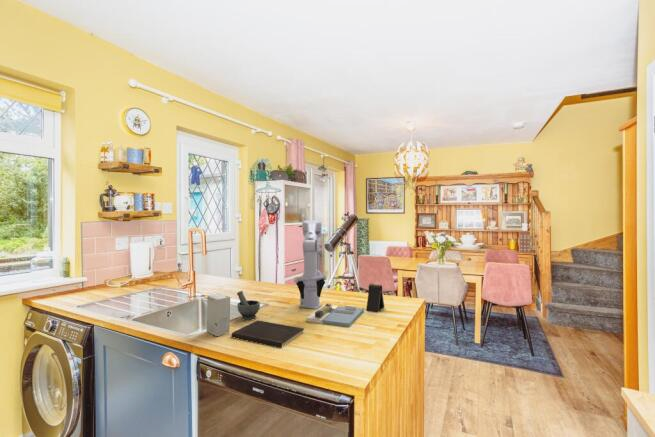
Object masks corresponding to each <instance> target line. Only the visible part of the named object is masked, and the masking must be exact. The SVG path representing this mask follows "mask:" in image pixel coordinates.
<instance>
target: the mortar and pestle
mask: <svg viewBox="0 0 655 437" xmlns="http://www.w3.org/2000/svg"><path fill="white" fill-rule="evenodd" d="M236 296H238V299H239V301H240V302H237V306H236V307H237V310H238V313H239V314H240V315H241V320H242V319H244V320H243V321H246V320H248V321H253V320H252V319H254V320H256V318H257V316H256V315H257V314H258V312H259V310H260V308H261V307H260V306H261V302H260V301H259V300H254V299H252V300H250V299H249V300H247V298H246V296H245V294H244V291H243V290H240V291H238V292H237V293H236Z"/></svg>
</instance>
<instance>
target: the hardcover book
mask: <svg viewBox="0 0 655 437" xmlns="http://www.w3.org/2000/svg"><path fill="white" fill-rule="evenodd" d="M304 330H305V328H303V327H298V326H293V325H292V326H291V325H285V324H281V323H274V322H269V321H264V320H259V319H258V320H256V321H253V322H251V323H249V324H247V325H245V326H242V327H241V328H239V329H236V330H235V331H232V332H231V336H230V337H231V338H232V337H235V338H234V339H236V338H239V339H238V340H241V339H243V340H242V341H245V340H248V341H247V342H250V341H253V342H252V343H255V342H257V343H256V344H259V343H262V344H261V345H264V344H266V345H265V346H269V345H270V346H269V347H274V346H276V347H275V348H278V347H281V348H280V349H282V348H283V347H284V345H285V344H286V345H288V344H290V343H291V342H292V341H294V340H296V338H298V337H299V336H301V335H302V334H303V333H304ZM290 341H291V342H290ZM287 343H288V344H287ZM286 345H285V346H286ZM282 346H283V347H282Z"/></svg>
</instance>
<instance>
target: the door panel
mask: <svg viewBox="0 0 655 437" xmlns="http://www.w3.org/2000/svg"><path fill="white" fill-rule="evenodd" d="M363 313H364V308H362V307H361V308H359V307H357V306H356V305H350V304H349V305H348V304H346V305H345V306H344V305H342V306H341V305H339V307H338V308H337V309H336V310H335V311H333V312H332V313H331V314H330V315H328V316H327V317H326V318H325V319H323V323H322V325H331V326H337V327H346V328H350V327H351V326H352V325H353V324H354V323H355V322H356V321H357V320H358V318H360V317H361V315H362V314H363Z"/></svg>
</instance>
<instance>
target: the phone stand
mask: <svg viewBox="0 0 655 437" xmlns="http://www.w3.org/2000/svg"><path fill="white" fill-rule="evenodd" d="M383 294H384V293H383V285H382V284H373V283H370V284H368V295H367V300H366V301H367V302H366V310H365V311H367V312H374V313H379V312H380V311H381V310H383V309H385V302H384V295H383Z"/></svg>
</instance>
